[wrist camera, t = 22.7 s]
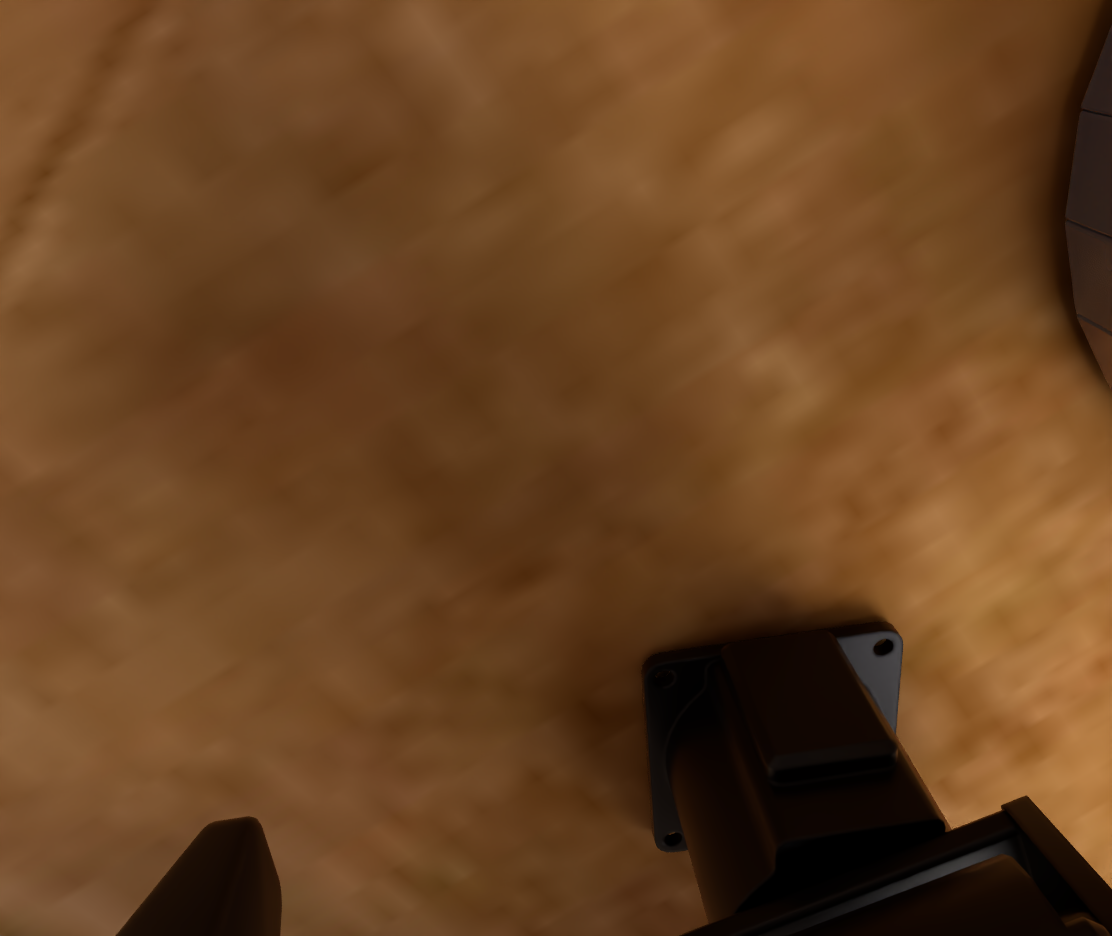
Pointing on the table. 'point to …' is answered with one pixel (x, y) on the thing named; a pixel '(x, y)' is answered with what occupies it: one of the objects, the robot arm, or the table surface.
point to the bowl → (1093, 213)
